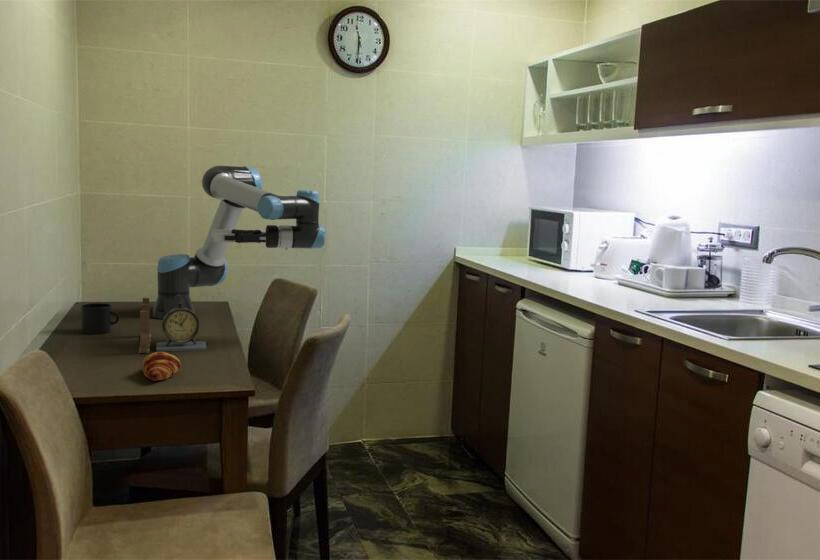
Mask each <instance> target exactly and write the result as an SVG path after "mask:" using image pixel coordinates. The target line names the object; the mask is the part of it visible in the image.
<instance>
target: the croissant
mask: <svg viewBox="0 0 820 560" xmlns="http://www.w3.org/2000/svg"><path fill="white" fill-rule="evenodd" d="M141 366H142V367H141V369H142V372H143V375H144V376H145V377H146V378H148V380H150V381H153V382H157V381H164V380H165V379H166V380H168V379H170V378H172V377H173V376H175V374H176V373H177V372H179V371H180V369H181V367H182V364H181V361H180V359H179V358H178V357H176V356H175V355H173V354H171V353H168V352H166V351H156V352H153V353H149V354H147V355H146V356H145V357H144V358H143V361H142V365H141ZM169 377H170V378H169Z"/></svg>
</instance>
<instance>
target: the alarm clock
mask: <svg viewBox="0 0 820 560" xmlns="http://www.w3.org/2000/svg"><path fill="white" fill-rule="evenodd" d="M179 295H181V294H179ZM179 295H177V296H179ZM177 296H176V297H177ZM181 296H183V297H184V298H185V296H184V295H181ZM176 297H175V302H176ZM185 300H186V298H185ZM184 303H185V301H184V302H183V303H182V304H184ZM176 304H178V303H177V302H176ZM182 304H181V303H179V304H178V305H179V308H174V309H172V310H170V311H169V312H168V313H167V314H166V315H165V316H164V318H163V319H162V322H161V323H162V324H161V327H162V331H163V333H164V335H165V336H166V338H167V339H168V341H167V342H168V343H167V345H166V346H168V345H169V344H170V343H171V342H176V343H186V342H193V343H194V344H196V343H195V342H196V341H195V340H194V338H195V337H196V336H197V334H198V332H199V329H200V321H199V318H198V315H196V314H195V312H194V313H193V312H192V311H191V310H189V309H187V308H182V306H181V305H182Z"/></svg>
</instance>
